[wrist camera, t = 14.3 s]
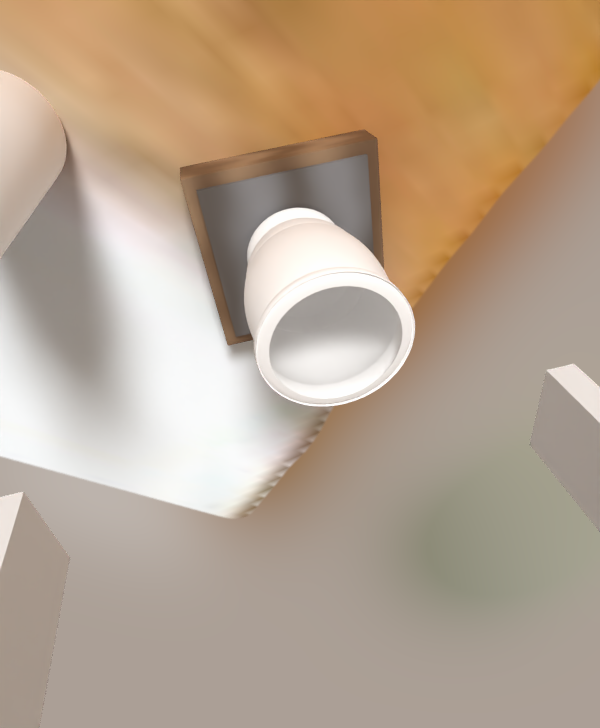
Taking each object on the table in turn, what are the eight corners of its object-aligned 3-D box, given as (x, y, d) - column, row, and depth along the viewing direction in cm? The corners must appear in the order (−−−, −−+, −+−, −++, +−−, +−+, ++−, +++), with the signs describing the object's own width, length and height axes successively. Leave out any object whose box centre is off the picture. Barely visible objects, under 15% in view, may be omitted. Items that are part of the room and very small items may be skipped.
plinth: (225, 326, 52) (228, 347, 49) (180, 167, 42) (180, 181, 39) (375, 292, 53) (387, 310, 50) (364, 129, 43) (378, 139, 40)
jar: (350, 183, 42) (418, 257, 30) (356, 293, 48) (414, 391, 36) (223, 206, 41) (240, 290, 29) (245, 314, 47) (267, 422, 35)
